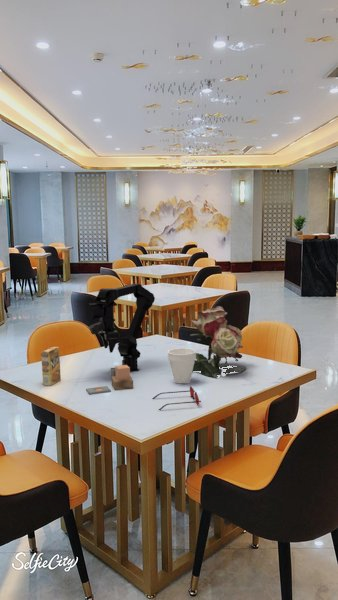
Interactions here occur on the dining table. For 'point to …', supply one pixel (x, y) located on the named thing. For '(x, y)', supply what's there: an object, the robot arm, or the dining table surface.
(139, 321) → the robot arm
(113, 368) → the charcoal block
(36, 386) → the dining table surface
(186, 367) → the cup
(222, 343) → the rose bouquet
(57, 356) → the candy box
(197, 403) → the glasses
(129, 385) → the walnut block
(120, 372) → the terracotta block
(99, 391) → the card
